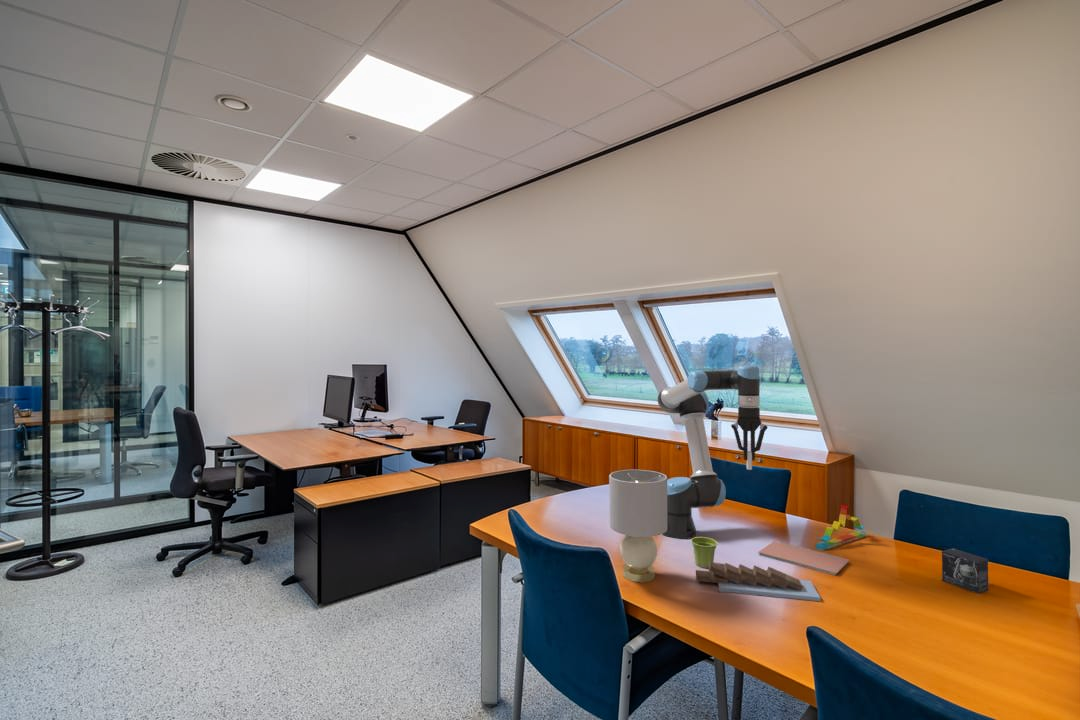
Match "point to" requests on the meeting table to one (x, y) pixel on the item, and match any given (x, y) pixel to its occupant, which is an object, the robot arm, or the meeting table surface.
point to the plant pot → (703, 550)
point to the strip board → (772, 590)
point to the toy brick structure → (839, 540)
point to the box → (965, 570)
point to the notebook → (804, 557)
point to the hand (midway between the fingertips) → (749, 468)
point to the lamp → (638, 518)
